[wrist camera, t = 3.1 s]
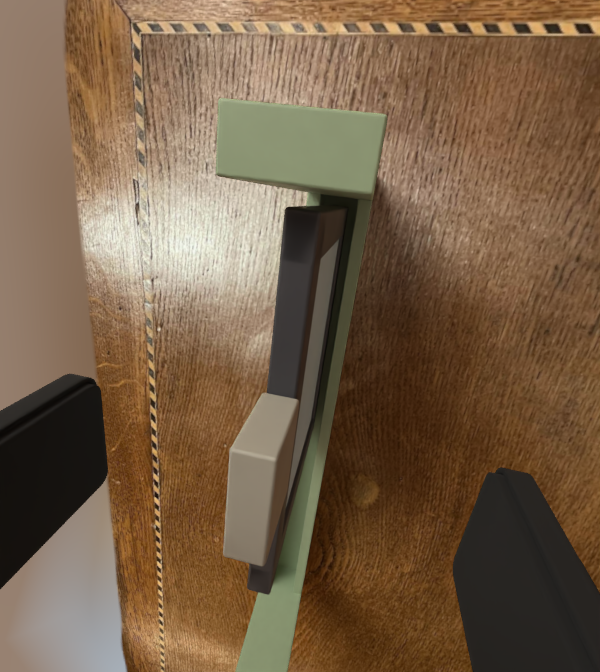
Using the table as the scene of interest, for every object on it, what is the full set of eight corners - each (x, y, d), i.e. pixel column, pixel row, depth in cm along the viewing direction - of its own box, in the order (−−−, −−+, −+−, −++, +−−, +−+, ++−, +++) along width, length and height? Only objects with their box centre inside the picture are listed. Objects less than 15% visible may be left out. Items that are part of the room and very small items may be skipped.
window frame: (269, 559, 28) (192, 830, 16) (320, 167, 18) (217, 96, 6) (306, 568, 27) (254, 853, 15) (377, 174, 18) (387, 113, 6)
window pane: (298, 422, 21) (214, 676, 10) (329, 204, 17) (243, 206, 6) (315, 425, 21) (249, 687, 10) (351, 207, 17) (308, 215, 5)
